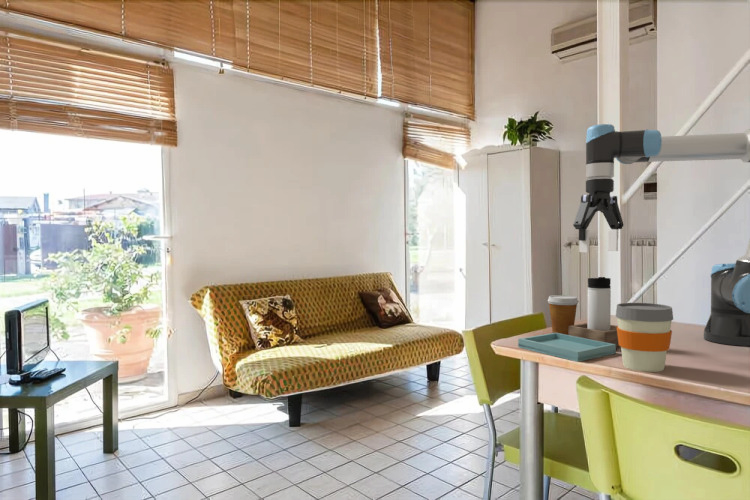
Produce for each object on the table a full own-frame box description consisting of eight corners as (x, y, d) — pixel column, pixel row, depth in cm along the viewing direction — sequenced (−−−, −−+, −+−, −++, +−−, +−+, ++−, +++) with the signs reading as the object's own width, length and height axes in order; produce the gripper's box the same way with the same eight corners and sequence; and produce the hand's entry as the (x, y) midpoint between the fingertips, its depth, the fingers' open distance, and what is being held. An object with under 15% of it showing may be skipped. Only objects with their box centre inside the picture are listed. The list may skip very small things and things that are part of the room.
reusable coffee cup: (677, 375, 119) (678, 311, 119) (617, 371, 124) (617, 308, 123) (667, 362, 131) (668, 303, 131) (613, 358, 135) (613, 301, 135)
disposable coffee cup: (580, 336, 164) (581, 298, 163) (549, 335, 165) (549, 298, 165) (575, 331, 173) (575, 295, 172) (545, 330, 175) (545, 294, 174)
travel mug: (590, 345, 151) (590, 277, 150) (585, 341, 157) (585, 275, 157) (613, 346, 150) (613, 277, 149) (607, 341, 156) (607, 275, 155)
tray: (615, 353, 141) (615, 344, 141) (577, 361, 133) (577, 352, 133) (555, 340, 158) (555, 332, 158) (518, 347, 150) (518, 338, 150)
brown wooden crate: (630, 344, 152) (630, 327, 151) (604, 350, 145) (604, 332, 145) (593, 337, 162) (593, 321, 162) (568, 342, 155) (568, 326, 155)
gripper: (613, 181, 161) (613, 250, 162) (560, 178, 148) (560, 252, 149) (636, 179, 155) (635, 250, 156) (583, 175, 142) (582, 253, 143)
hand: (598, 251), depth 153 cm, fingers open, 13 cm apart
